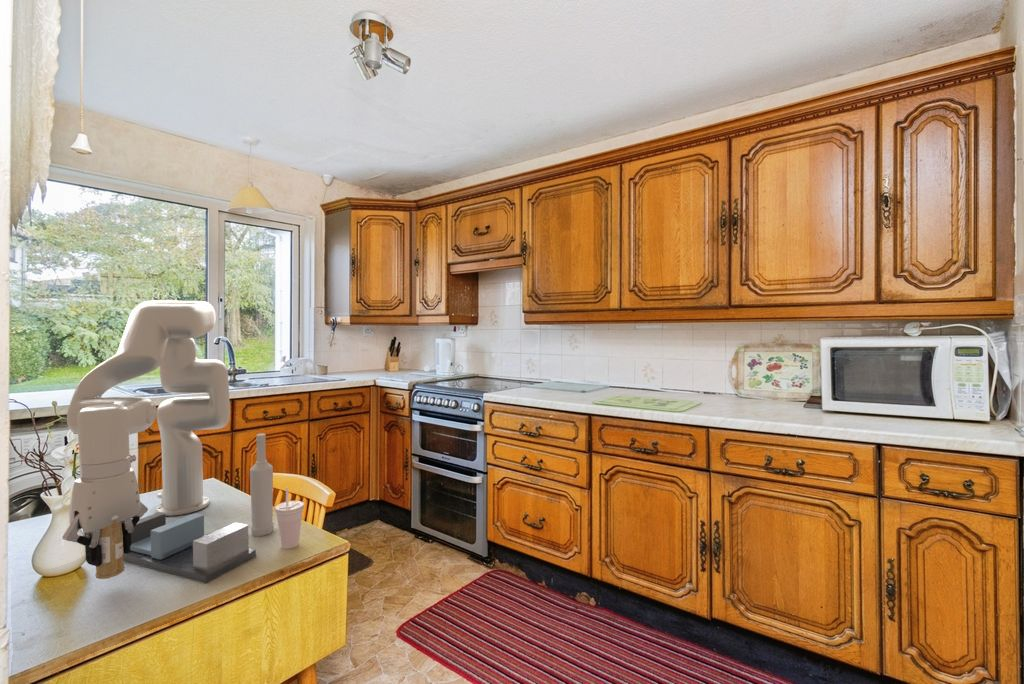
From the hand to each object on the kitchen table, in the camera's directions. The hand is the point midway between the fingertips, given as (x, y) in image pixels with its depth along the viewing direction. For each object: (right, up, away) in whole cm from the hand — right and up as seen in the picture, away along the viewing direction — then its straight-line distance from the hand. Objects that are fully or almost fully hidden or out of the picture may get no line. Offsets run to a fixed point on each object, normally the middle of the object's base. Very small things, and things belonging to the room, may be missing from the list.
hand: (109, 557), depth 95 cm
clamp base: (+5, -6, +14) cm, 16 cm away
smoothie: (+27, -6, +20) cm, 34 cm away
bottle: (+16, -6, +27) cm, 32 cm away
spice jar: (0, -4, 0) cm, 4 cm away
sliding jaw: (-1, -4, +16) cm, 17 cm away
